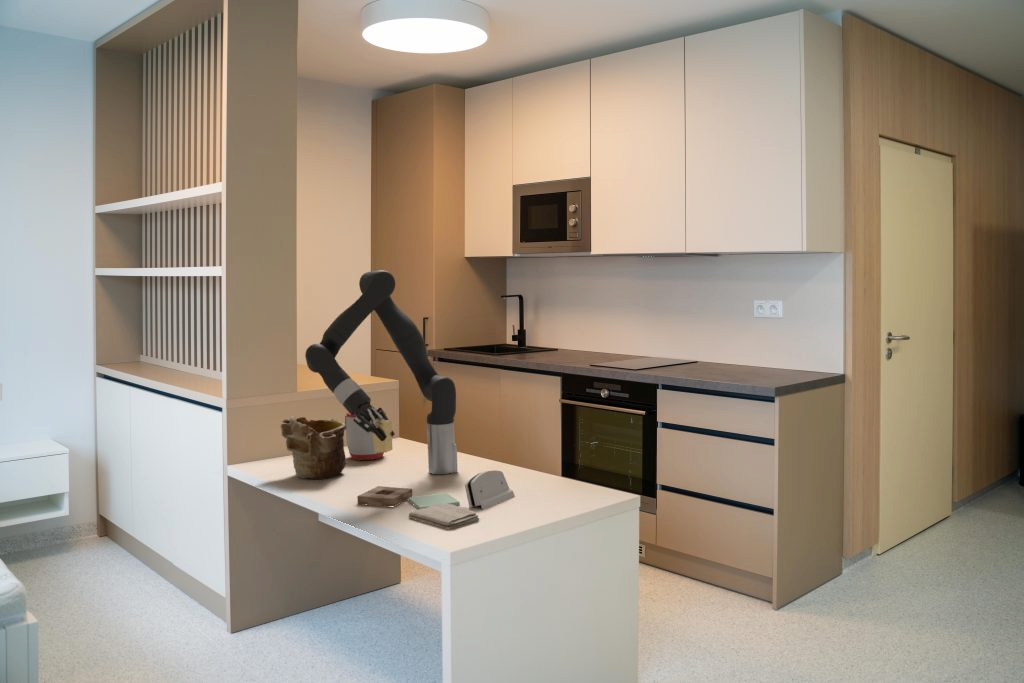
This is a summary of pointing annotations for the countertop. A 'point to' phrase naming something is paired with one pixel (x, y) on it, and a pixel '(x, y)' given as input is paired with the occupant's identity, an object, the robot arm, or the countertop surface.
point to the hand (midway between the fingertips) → (388, 437)
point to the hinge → (488, 489)
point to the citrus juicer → (360, 441)
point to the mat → (433, 500)
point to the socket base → (385, 496)
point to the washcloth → (445, 515)
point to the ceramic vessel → (315, 446)
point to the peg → (387, 443)
